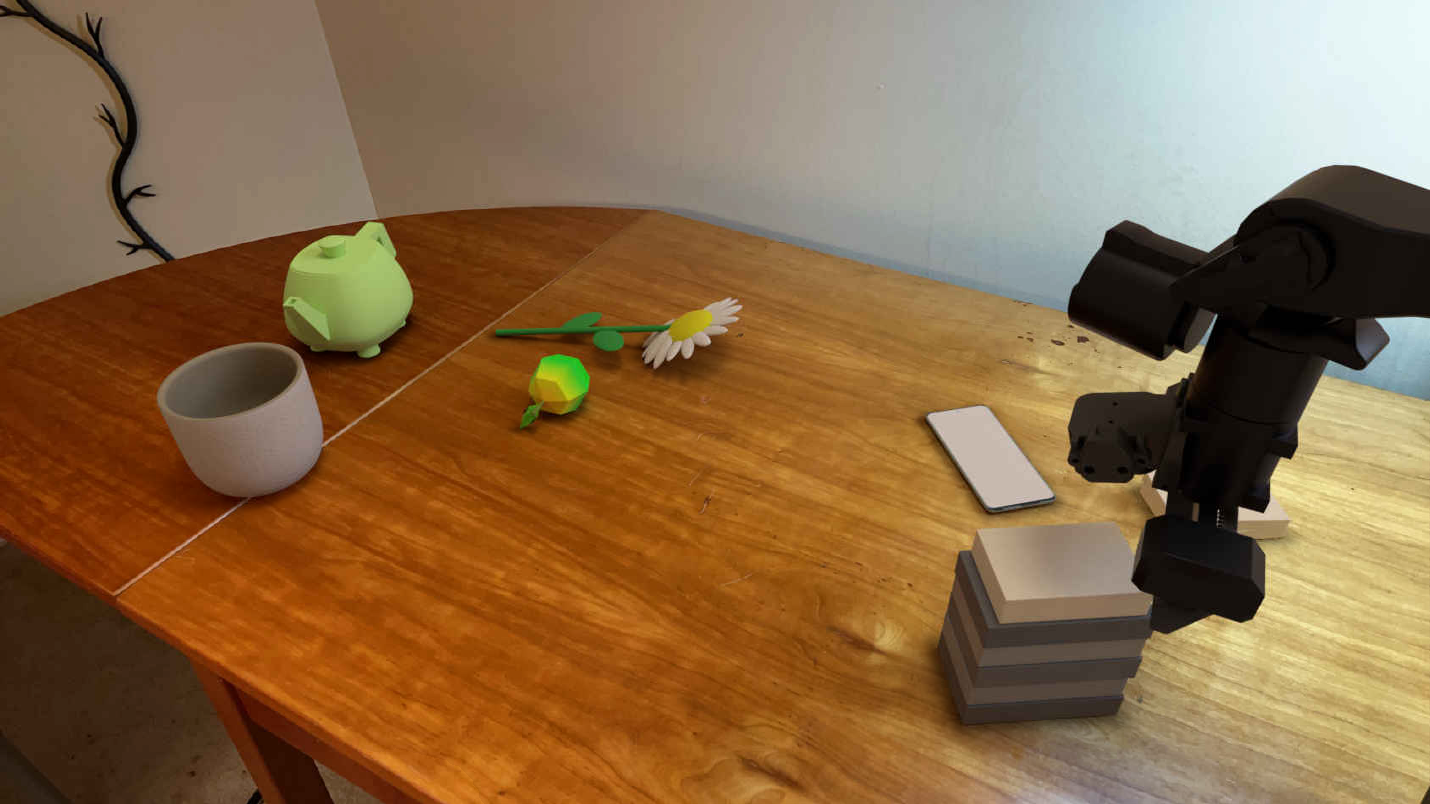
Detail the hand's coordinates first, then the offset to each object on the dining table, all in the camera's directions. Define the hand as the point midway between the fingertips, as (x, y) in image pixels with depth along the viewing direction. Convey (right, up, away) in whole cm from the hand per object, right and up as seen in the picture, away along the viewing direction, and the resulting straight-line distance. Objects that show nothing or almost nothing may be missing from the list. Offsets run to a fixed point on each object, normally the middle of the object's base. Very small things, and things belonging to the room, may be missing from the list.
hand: (1164, 579), depth 60 cm
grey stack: (-6, -9, +9) cm, 14 cm away
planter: (-74, +5, +29) cm, 80 cm away
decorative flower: (-42, +18, +46) cm, 65 cm away
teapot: (-73, +20, +49) cm, 90 cm away
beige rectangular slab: (+15, +1, +23) cm, 28 cm away
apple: (-47, +11, +36) cm, 60 cm away
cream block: (-6, -1, +2) cm, 7 cm away
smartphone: (-3, +6, +29) cm, 30 cm away
